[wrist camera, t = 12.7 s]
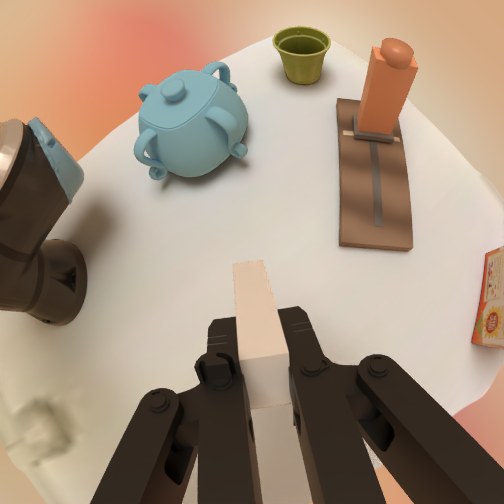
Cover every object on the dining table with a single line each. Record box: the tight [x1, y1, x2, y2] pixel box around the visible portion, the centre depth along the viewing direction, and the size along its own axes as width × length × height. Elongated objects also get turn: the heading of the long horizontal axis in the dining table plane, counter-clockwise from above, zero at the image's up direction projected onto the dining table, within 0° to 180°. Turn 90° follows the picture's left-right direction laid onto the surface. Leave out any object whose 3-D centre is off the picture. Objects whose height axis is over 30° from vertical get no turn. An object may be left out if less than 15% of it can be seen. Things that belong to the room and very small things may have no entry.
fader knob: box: [352, 38, 418, 143], centre depth 29 cm, size 4×6×16 cm, turn 84°
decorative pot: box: [134, 62, 248, 180], centre depth 37 cm, size 16×16×14 cm
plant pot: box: [272, 26, 331, 84], centre depth 40 cm, size 9×9×9 cm
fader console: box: [336, 98, 413, 251], centre depth 37 cm, size 24×10×2 cm, turn 174°
